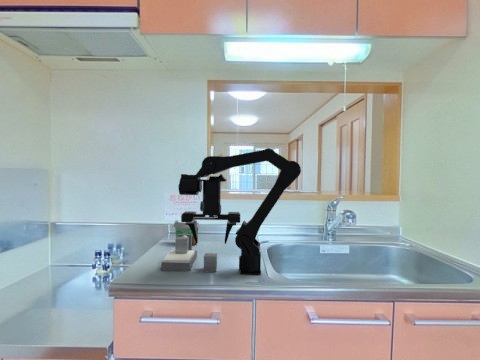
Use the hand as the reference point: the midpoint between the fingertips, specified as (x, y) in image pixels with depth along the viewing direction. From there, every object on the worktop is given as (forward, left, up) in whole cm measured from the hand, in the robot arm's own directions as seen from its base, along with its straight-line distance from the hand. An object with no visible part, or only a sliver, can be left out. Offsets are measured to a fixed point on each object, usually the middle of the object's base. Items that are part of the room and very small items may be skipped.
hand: (211, 243), depth 105 cm
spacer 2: (0, 0, -9) cm, 9 cm away
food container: (+15, -34, -9) cm, 38 cm away
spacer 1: (+11, -9, -5) cm, 15 cm away
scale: (+11, -6, -9) cm, 15 cm away
